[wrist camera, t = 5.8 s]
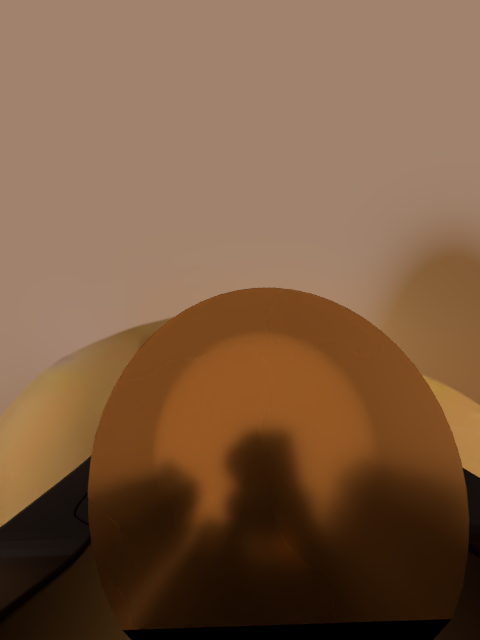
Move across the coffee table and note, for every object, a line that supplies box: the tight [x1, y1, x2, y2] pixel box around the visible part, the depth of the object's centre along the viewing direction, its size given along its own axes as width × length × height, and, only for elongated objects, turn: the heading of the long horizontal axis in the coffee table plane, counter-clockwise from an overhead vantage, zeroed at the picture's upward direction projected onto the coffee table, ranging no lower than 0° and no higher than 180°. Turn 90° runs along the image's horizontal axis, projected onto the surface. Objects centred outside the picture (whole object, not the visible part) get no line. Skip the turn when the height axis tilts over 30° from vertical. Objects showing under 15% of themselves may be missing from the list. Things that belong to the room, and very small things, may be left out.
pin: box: [88, 288, 469, 640], centre depth 9 cm, size 4×4×13 cm
